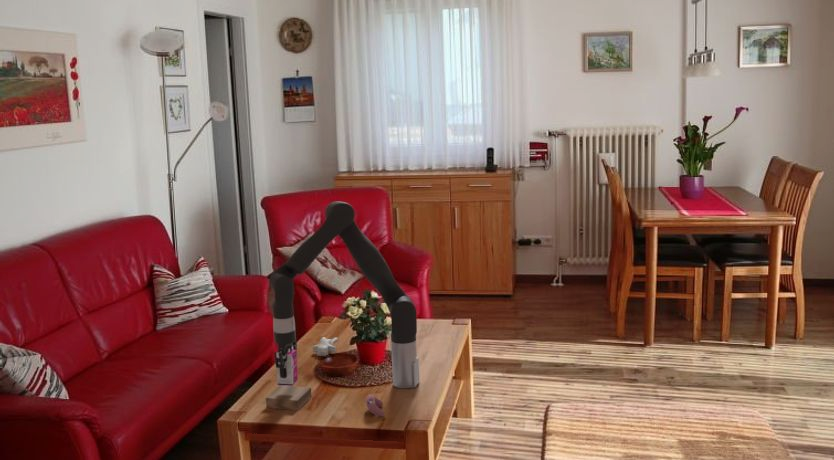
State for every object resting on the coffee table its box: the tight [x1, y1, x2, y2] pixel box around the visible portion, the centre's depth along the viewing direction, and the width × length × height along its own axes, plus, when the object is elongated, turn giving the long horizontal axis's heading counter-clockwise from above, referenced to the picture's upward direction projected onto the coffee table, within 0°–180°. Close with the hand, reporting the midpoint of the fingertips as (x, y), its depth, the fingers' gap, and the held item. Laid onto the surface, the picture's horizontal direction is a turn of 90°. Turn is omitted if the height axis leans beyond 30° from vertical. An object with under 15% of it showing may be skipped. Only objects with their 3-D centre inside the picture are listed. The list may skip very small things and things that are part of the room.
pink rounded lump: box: [365, 393, 385, 417], centre depth 288 cm, size 10×5×7 cm, turn 5°
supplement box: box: [276, 350, 299, 386], centre depth 297 cm, size 6×6×12 cm
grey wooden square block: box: [265, 385, 313, 411], centre depth 300 cm, size 12×12×4 cm
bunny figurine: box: [312, 336, 340, 357], centre depth 351 cm, size 10×5×15 cm
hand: (287, 374), depth 298 cm, fingers closed on supplement box, 6 cm apart
